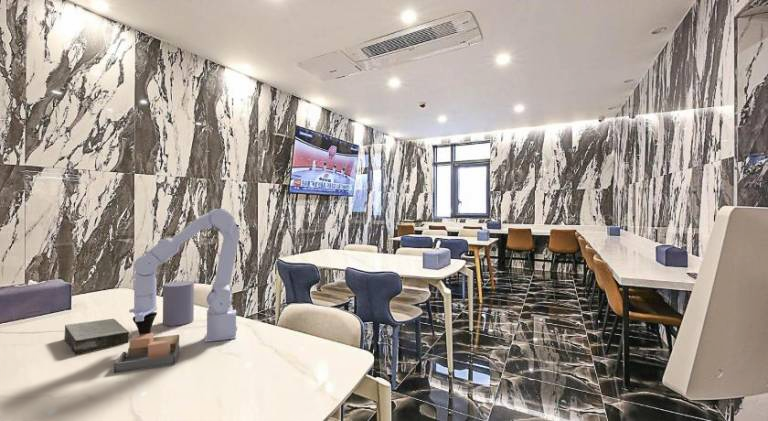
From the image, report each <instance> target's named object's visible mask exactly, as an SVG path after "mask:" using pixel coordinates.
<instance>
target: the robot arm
mask: <svg viewBox="0 0 768 421" xmlns="http://www.w3.org/2000/svg"><path fill="white" fill-rule="evenodd" d="M212 228H215V229H216V230H217V231H218V232H219V233H220V234H221V236H222V237H223V239H222V244H221V249H220V254H219V258H218V264H217V269H216V274H215V279H214V282H213V284H212V286H211V290H210V291H209V292H208V294H207V296H206V302H207V304H208V305H209V308H208V309H207V310H206V333H205V337H204V342H205V343H208V342H209V343H210V342H216V341H217V342H218V341H225V340H232V339H236V338H237V331H238V325H237V309H231V308H230V307H231V305H232V299H231V281H232V280H231V279H232V274H233V270H234V265H235V259H236V256H237V255H236V254H237V250H238V245H239V239H240V231H239V228H238V226H237V224H236V222H235V218H234V216H233V215H232V213H230V212H229V211H228V210H227V209H224V208H214V209H210V210H209V211H208V212H206V213H204V214H202V215H201V216H200V217H198V218H196V219H195V220H193V221H192V222H190V224H189V225H187V226H186V227H185V228H183V229H182V230H181V231H180V232H178V233H177V234H176V235H175V236H173V237H166V238H163V239H162V238H161V239H159V240H158V241H157V244H156V245H155V246H153V247H152V248H151V249H149V250H148V249H147V250H145V251H144V254H143V255H140V256H138V257H137V258H136V260H135V262H134V265H133V268H134V271H135V274H134V282H133V284H134V285H133V291H134V292H133V308H130V309H129V311H128V312H129V313H133V314H134V316H133V317H132V321H133V322H134V324H135V326H136V328H137V331H138V334H147V333H152V329H153V328H152V327H153V324H154V321H155V318H156V317H157V314H158V312H157V310H158V306H157V278H156V271H157V270H158V267H159V266H160V265H163V264H164V263H167V261H168V260H169V259H171V258H172V257H173V256H175V255H176V254H178V253H179V251H180V246H181V245H182V244H184V243H185V242H186V241H188V240H189V239H191V238H192V237H194V236H195V235H196V234H197V233H199V232H200V231H202V230H203V231H204V230H207V229H212Z"/></svg>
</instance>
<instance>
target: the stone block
mask: <svg viewBox="0 0 768 421" xmlns="http://www.w3.org/2000/svg"><path fill="white" fill-rule="evenodd" d="M63 338H64V339H63V340H64V341H65V342H66V344H67V345H68V346H69V348H70V349H71V350H70V351H71V352H72V353H73V354H74V355H75V356H76V355H81V354H85V353H90V351H91V352H95V351H99V350H103V349H107V347H108V348H111V346H112V347H116V346H120V345H124V343H125V344H128V343H129V342H130V331H129V330H128V329H126V328H125V327H124V326H123V325H122V324H121V323H119V321H118V320H116V319H114V318H109V319H100V320H93V321H85V322H78V323H69V324H65V325H64V337H63ZM102 348H103V349H102ZM98 349H99V350H98ZM94 350H95V351H94Z"/></svg>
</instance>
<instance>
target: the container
mask: <svg viewBox="0 0 768 421" xmlns="http://www.w3.org/2000/svg"><path fill="white" fill-rule="evenodd" d="M194 300H195V282H194V281H192V280H178V281H177V280H176V281H170V282H166V283H163V285H162V325H164V326H166V327H179V326H183V325H187V324H190V323H191V322H193V321H194V319H195V318H194V315H195V314H194V310H195V308H194V307H195V305H194V304H195V303H194V302H195V301H194Z"/></svg>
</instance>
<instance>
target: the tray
mask: <svg viewBox="0 0 768 421" xmlns="http://www.w3.org/2000/svg"><path fill="white" fill-rule="evenodd" d="M126 353H127V351H123V352H122V353H121V354H120V355H119V357H118V358H116V360H115V362H114V363H113V373H114V374H116V373H122V372H130V371H131V372H132V371H139V370H143V369H150V368H152V369H153V368H159V367H165V366H174V365H176V362H177V360H178V357H179V355H180V344H179V345H177V347H176V349H175V350H170V356H165V357H157V358H149V359H148V353H143V354H135V355H128V354H127V355H126Z"/></svg>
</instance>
